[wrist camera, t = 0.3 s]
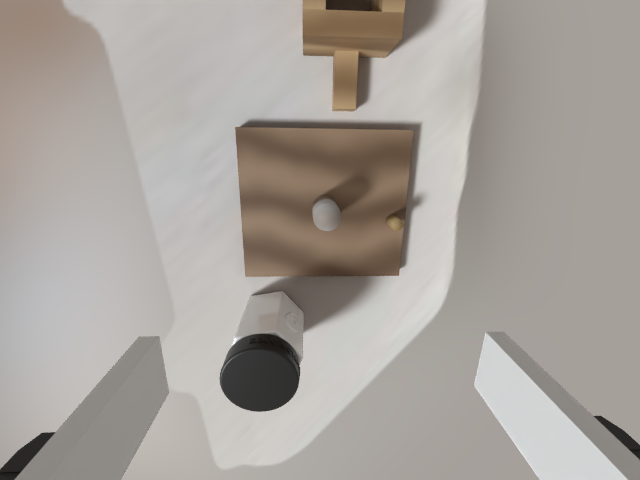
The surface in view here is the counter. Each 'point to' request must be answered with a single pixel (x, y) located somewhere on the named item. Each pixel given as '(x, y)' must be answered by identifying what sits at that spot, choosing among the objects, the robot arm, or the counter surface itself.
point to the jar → (265, 354)
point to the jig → (323, 200)
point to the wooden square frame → (351, 40)
